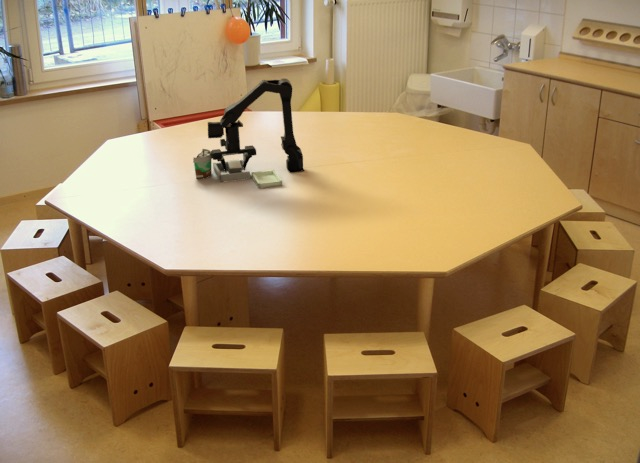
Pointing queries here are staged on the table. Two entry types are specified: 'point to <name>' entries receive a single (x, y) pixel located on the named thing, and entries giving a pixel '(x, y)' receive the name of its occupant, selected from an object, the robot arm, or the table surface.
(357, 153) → the table surface
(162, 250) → the table surface
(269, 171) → the tray
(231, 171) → the beige gray rectangular block
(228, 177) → the bay
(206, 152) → the food container
